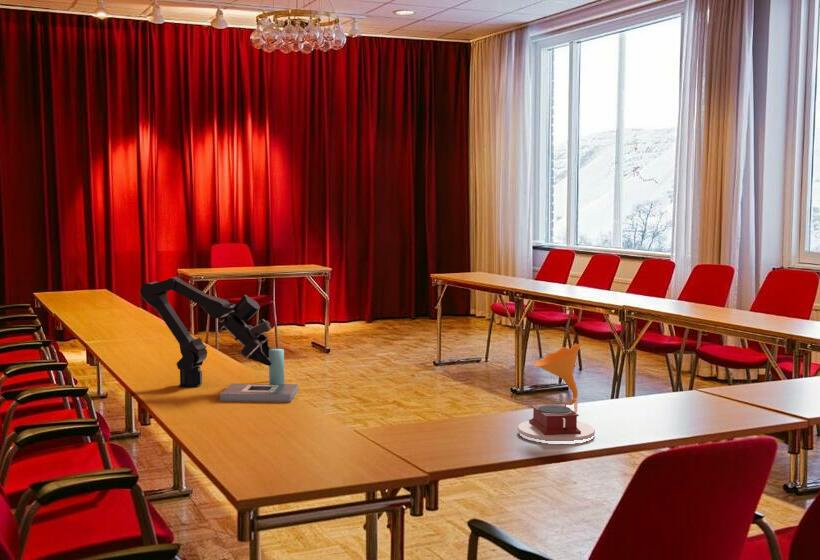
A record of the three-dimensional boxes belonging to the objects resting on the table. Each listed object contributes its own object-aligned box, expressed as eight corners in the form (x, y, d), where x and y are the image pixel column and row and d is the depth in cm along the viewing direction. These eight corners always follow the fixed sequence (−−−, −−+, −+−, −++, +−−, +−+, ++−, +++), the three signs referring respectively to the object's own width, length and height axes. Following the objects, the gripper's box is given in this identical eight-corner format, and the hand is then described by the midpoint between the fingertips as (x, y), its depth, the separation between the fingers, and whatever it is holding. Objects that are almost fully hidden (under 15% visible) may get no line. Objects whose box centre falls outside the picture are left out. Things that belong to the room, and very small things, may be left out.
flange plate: (220, 401, 282) (220, 393, 282) (231, 390, 298) (231, 382, 298) (290, 402, 282) (290, 393, 281) (298, 391, 298) (298, 383, 297)
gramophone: (578, 424, 256) (580, 336, 254) (606, 443, 236) (608, 348, 234) (508, 427, 253) (510, 338, 250) (531, 446, 233) (532, 350, 230)
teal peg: (267, 389, 300) (267, 351, 299) (270, 386, 305) (270, 348, 304) (282, 389, 300) (282, 351, 299) (285, 386, 305) (285, 348, 304)
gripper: (250, 316, 292) (285, 350, 292) (261, 309, 310) (294, 341, 311) (226, 340, 292) (261, 374, 293) (239, 332, 311) (271, 363, 312)
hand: (273, 362), depth 302 cm, fingers open, 9 cm apart
